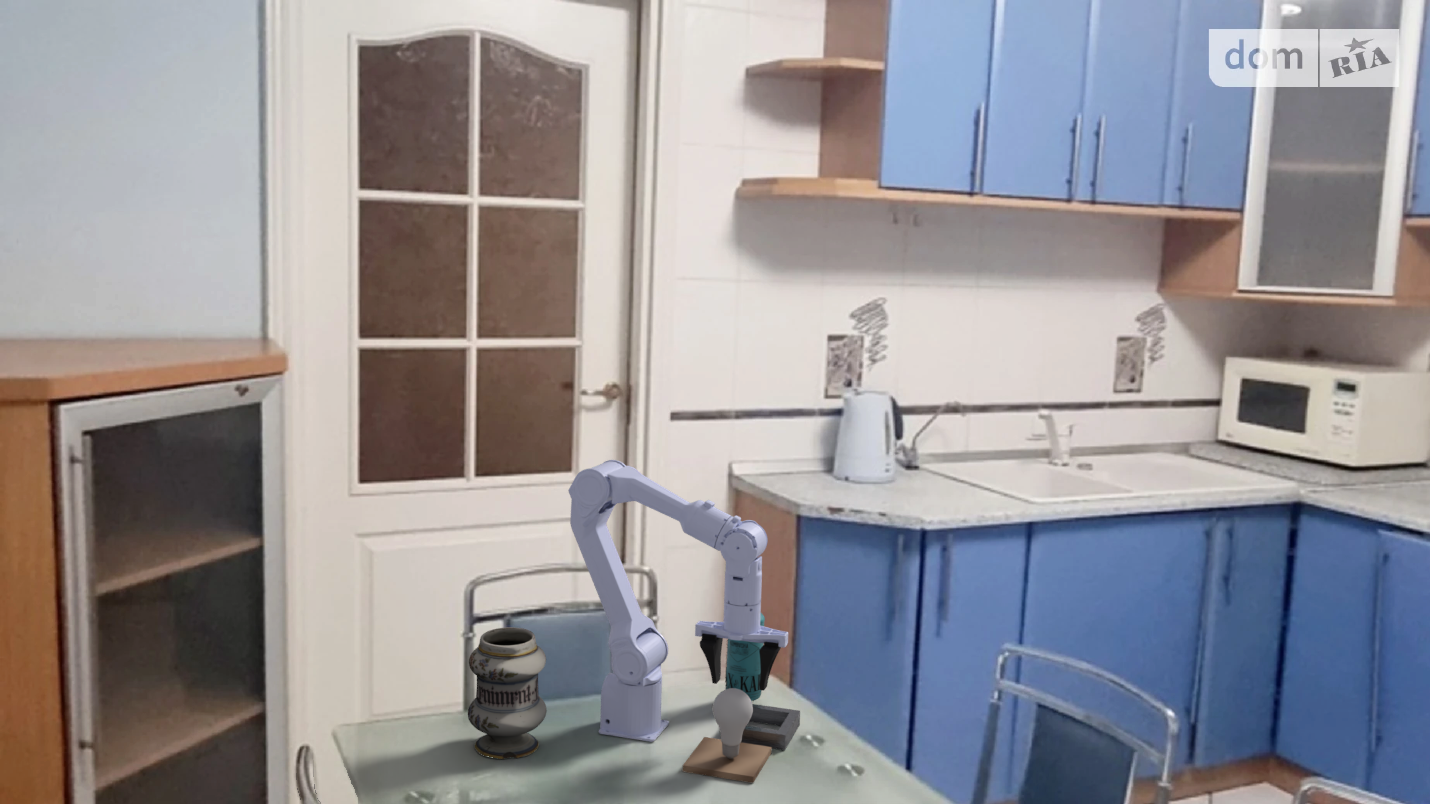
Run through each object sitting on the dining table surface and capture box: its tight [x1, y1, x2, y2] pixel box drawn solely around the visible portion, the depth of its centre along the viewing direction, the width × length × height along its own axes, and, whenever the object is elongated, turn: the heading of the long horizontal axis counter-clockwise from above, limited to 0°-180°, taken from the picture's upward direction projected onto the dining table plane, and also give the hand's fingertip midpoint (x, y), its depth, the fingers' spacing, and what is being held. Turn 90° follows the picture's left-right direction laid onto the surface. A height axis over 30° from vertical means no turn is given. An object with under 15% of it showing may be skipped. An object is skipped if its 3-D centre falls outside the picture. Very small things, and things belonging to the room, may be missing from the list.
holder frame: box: [741, 703, 801, 751], centre depth 195 cm, size 10×10×2 cm
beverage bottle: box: [724, 612, 766, 702], centre depth 206 cm, size 6×7×20 cm
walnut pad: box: [682, 736, 772, 784], centre depth 184 cm, size 11×11×1 cm
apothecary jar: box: [467, 626, 548, 760], centre depth 186 cm, size 12×12×18 cm
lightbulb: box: [712, 688, 753, 759], centre depth 182 cm, size 6×6×11 cm
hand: (739, 684), depth 188 cm, fingers open, 7 cm apart
